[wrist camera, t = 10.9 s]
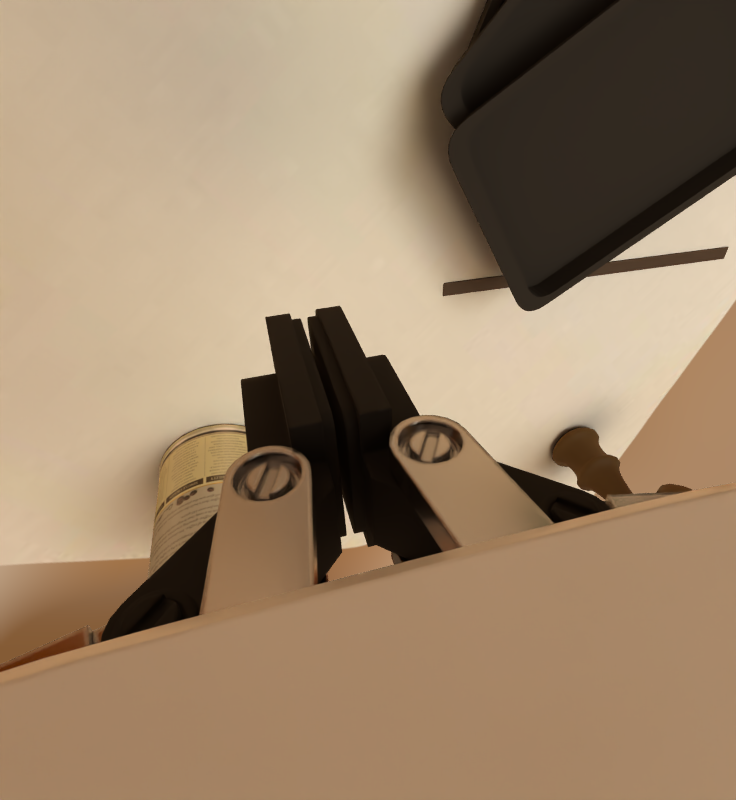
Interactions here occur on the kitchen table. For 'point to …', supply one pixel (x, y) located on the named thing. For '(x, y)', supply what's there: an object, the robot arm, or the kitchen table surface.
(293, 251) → the kitchen table surface
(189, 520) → the coffee can
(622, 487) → the kendama
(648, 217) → the tray
